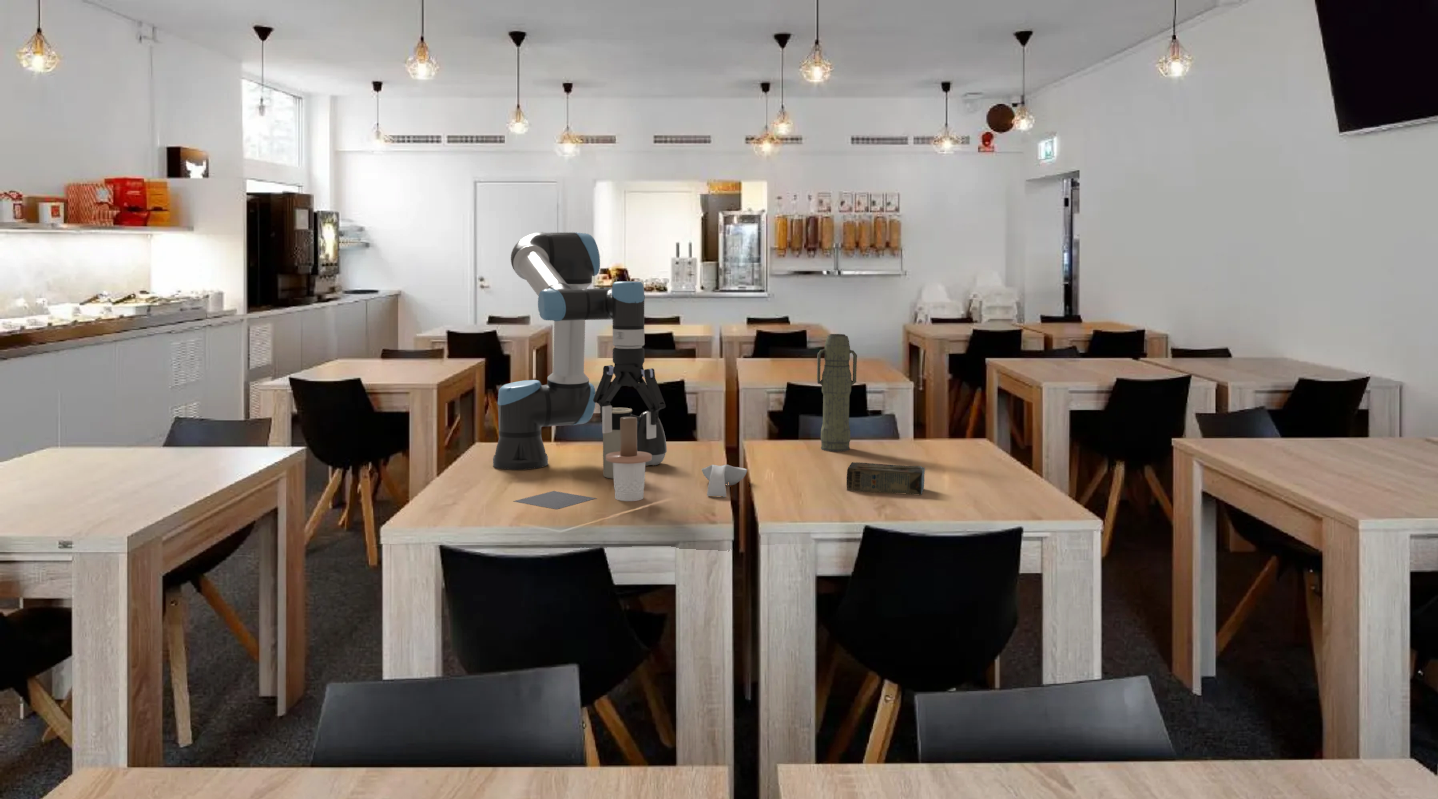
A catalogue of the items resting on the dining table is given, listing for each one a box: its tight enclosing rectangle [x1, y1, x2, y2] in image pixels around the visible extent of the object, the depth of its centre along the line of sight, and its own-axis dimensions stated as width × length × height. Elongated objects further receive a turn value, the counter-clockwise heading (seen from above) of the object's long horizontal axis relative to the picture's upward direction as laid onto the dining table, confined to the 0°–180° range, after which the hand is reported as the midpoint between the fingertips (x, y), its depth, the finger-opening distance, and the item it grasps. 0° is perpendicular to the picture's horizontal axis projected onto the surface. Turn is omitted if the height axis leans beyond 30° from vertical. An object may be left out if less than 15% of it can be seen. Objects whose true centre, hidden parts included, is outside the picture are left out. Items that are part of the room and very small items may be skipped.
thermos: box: [816, 333, 858, 453], centre depth 333 cm, size 9×12×35 cm
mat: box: [512, 490, 597, 510], centre depth 262 cm, size 14×14×1 cm
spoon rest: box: [701, 464, 748, 498], centre depth 279 cm, size 24×12×7 cm, turn 175°
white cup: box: [613, 462, 646, 502], centre depth 264 cm, size 8×8×10 cm
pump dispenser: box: [630, 410, 668, 467], centre depth 308 cm, size 10×10×15 cm
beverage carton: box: [846, 461, 926, 496], centre depth 277 cm, size 8×19×7 cm, turn 76°
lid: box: [606, 417, 652, 464], centre depth 263 cm, size 11×11×10 cm
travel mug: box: [602, 407, 633, 480], centre depth 291 cm, size 8×8×18 cm
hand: (628, 435), depth 263 cm, fingers open, 13 cm apart
